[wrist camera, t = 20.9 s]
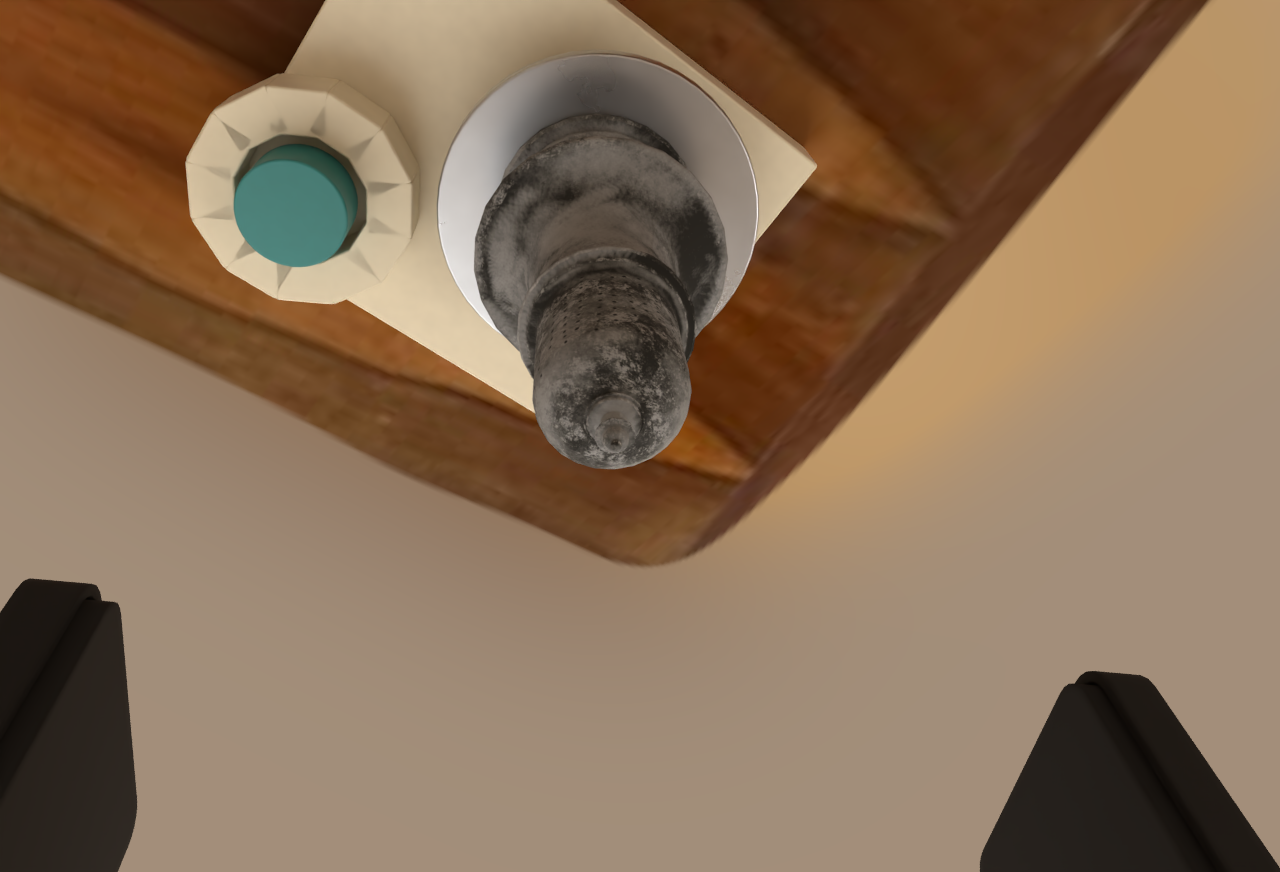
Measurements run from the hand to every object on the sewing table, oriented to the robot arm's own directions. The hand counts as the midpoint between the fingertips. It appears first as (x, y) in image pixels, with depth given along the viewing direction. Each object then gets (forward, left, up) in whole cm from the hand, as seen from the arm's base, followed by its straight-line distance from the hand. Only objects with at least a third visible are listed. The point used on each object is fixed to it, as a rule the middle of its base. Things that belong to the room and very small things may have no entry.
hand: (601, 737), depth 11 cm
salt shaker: (+1, -1, -19) cm, 19 cm away
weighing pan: (+1, -1, -20) cm, 20 cm away
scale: (-2, -1, -23) cm, 23 cm away
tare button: (-7, -2, -20) cm, 21 cm away
